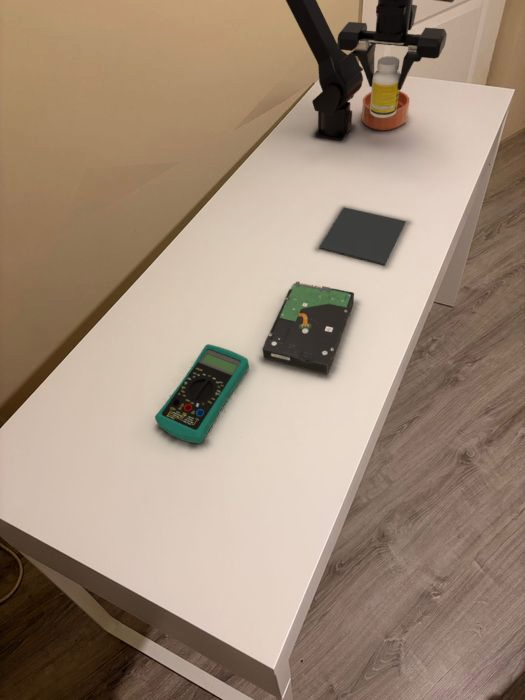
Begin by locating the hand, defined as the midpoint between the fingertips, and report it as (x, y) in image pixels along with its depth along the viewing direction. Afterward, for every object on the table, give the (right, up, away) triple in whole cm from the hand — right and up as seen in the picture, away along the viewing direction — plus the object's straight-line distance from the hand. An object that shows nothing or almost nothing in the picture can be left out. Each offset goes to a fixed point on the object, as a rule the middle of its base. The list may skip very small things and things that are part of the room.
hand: (385, 87), depth 97 cm
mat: (-6, -31, -7) cm, 32 cm away
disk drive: (-17, -49, -20) cm, 55 cm away
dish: (+3, +1, +15) cm, 16 cm away
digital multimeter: (-32, -58, -25) cm, 71 cm away
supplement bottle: (0, -3, +4) cm, 5 cm away
